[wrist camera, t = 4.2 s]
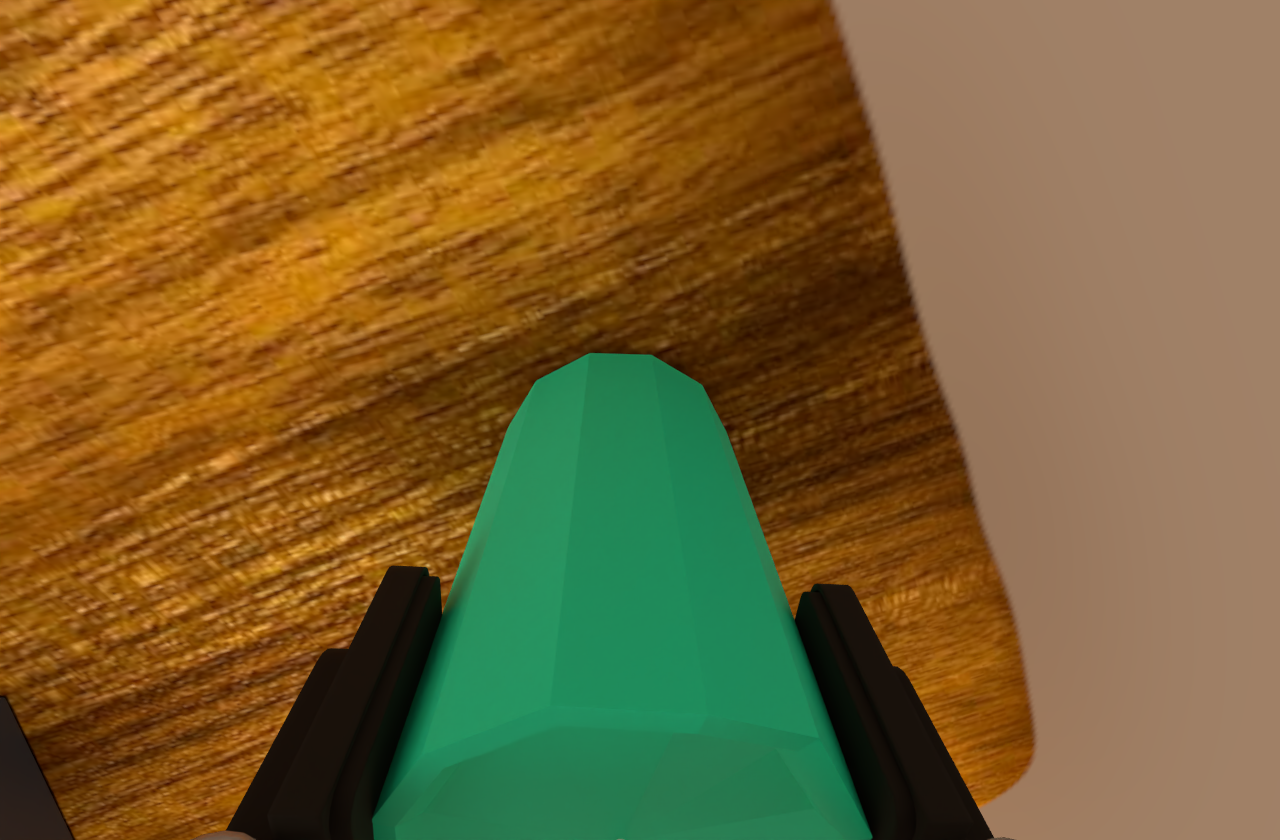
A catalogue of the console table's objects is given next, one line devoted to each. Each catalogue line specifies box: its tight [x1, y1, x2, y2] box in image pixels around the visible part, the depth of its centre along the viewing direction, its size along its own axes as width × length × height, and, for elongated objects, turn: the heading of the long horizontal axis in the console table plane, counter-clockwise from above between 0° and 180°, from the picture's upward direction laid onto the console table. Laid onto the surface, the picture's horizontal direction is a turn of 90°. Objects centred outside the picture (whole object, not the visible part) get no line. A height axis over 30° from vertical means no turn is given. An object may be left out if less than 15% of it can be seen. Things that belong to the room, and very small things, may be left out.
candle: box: [372, 353, 873, 840], centre depth 11 cm, size 6×6×12 cm
